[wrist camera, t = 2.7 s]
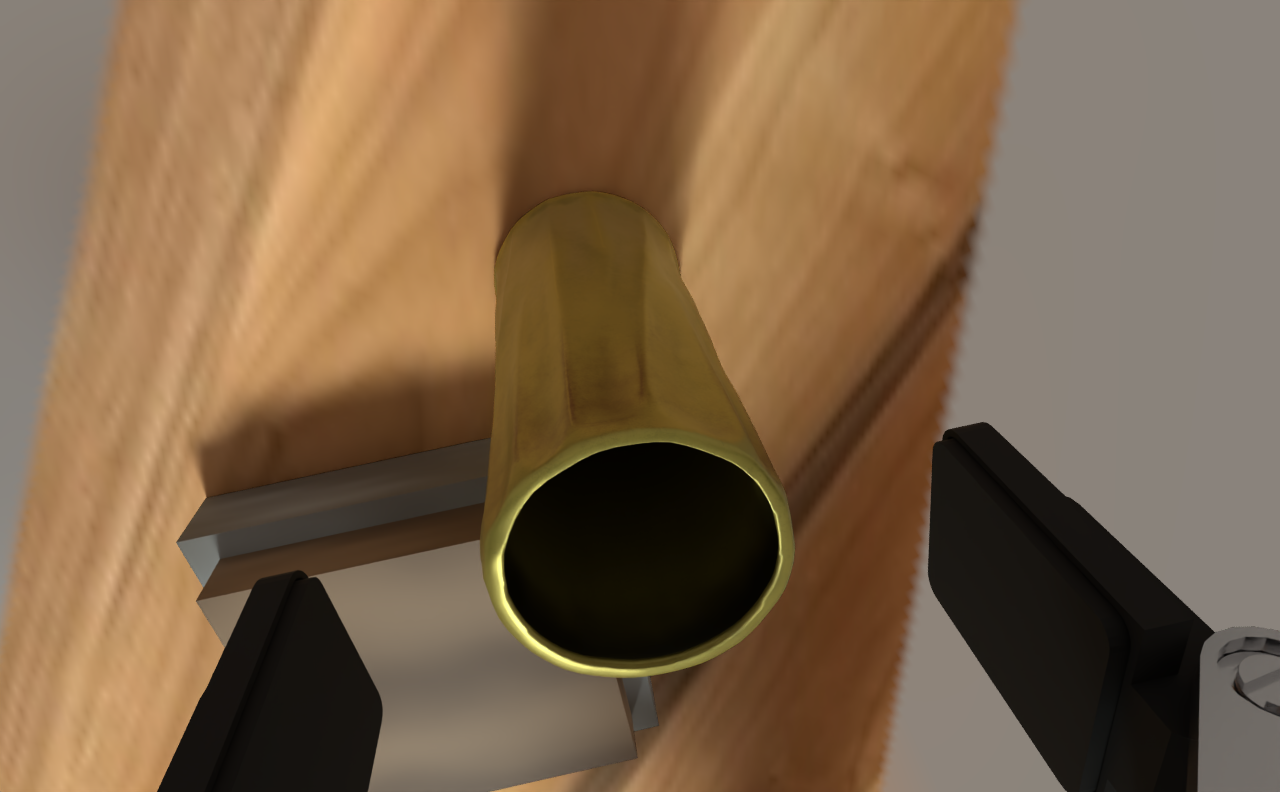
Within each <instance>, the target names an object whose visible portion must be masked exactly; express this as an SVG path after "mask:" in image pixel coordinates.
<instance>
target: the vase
mask: <svg viewBox="0 0 1280 792" xmlns="http://www.w3.org/2000/svg"><path fill="white" fill-rule="evenodd" d="M494 287H495V295H496V310H495V341H496V361H495V393H494V416H493V426H492V433H491V442H490V452H489V465H488V478H487V488H486V497H485V506H484V514H483V519H482V525H481V534H480V559H481V563H482V572H483V579H484V582H485V585H486V588H487V591H488V593H489V596H490V599H491V602H492V605H493V607H494V609H495V611H496V613H497V616H498V618H499V619H500V621H501V622H502V623H503V625H504V626H505V627H506V629H507V630H508V631H509V632H510V633H511V634H512V635H513V636H514V637H515V638H516V639H517V640H518V641H519V642H520V643H521V644H522V645H524V646H525V647H526V648H527V649H528V650H530V651H531V652H532V653H534V654H535V655H537V656H539V657H541V658H542V659H544V660H546V661H548V662H550V663H551V664H553V665H555V666H558V667H560V668H562V669H565V670H568V671H572V672H576V673H580V674H586V675H592V676H601V677H615V678H636V677H647V676H653V675H659V674H665V673H669V672H673V671H678V670H681V669H685V668H689V667H692V666H695V665H698V664H701V663H703V662H706V661H708V660H710V659H712V658H714V657H716V656H718V655H720V654H722V653H723V652H725V651H727V650H729V649H730V648H732V647H733V646H735V645H736V644H738V643H739V642H741V641H742V640H743V639H744V638H745V637H747V636H748V635H749V634H750V633H751V632H752V631H753V630H754V629H755V628H756V627H757V626H758V625H759V624H760V623H761V621H762V620H763V619H764V618H765V616H766V615H767V614H768V613H769V611H770V610H771V609H772V608H773V606H774V605H775V604H776V602H777V601H778V600H779V598H780V596H781V595H782V593H783V592H784V590H785V588H786V585H787V583H788V580H789V577H790V574H791V570H792V566H793V563H794V554H795V542H794V535H793V528H792V521H791V515H790V510H789V505H788V499H787V495H786V492H785V490H784V487H783V485H782V483H781V481H780V479H779V477H778V475H777V474H776V472H775V470H774V468H773V466H772V464H771V462H770V459H769V457H768V455H767V453H766V451H765V449H764V447H763V445H762V442H761V440H760V438H759V436H758V434H757V432H756V430H755V428H754V426H753V424H752V422H751V420H750V418H749V416H748V414H747V412H746V410H745V408H744V406H743V404H742V402H741V400H740V398H739V396H738V394H737V392H736V390H735V389H734V387H733V385H732V384H731V382H730V380H729V379H728V377H727V375H726V374H725V372H724V370H723V368H722V366H721V363H720V361H719V359H718V356H717V353H716V351H715V348H714V346H713V343H712V341H711V339H710V336H709V334H708V332H707V329H706V327H705V325H704V323H703V321H702V318H701V316H700V314H699V312H698V309H697V307H696V305H695V303H694V300H693V298H692V297H691V295H690V293H689V291H688V290H687V288H686V286H685V284H684V283H683V281H682V279H681V274H680V270H679V265H678V261H677V258H676V254H675V251H674V248H673V245H672V242H671V240H670V238H669V236H668V235H667V233H666V231H665V230H664V229H663V227H662V226H661V225H660V223H659V222H658V221H657V220H656V219H655V218H654V217H653V216H652V215H651V214H650V213H649V212H647V211H646V210H645V209H644V208H642V207H641V206H639V205H637V204H635V203H634V202H632V201H630V200H627V199H624V198H622V197H619V196H616V195H612V194H609V193H605V192H596V191H587V192H578V193H571V194H566V195H561V196H557V197H554V198H550V199H547V200H546V201H544V202H542V203H541V204H539V205H538V206H536V207H535V208H533V209H532V210H530V211H529V212H528V213H526V214H525V215H524V216H523V217H522V218H521V219H520V220H518V221H517V222H516V224H515V225H514V226H513V227H512V229H511V230H510V232H509V233H508V235H507V237H506V239H505V240H504V242H503V244H502V247H501V249H500V251H499V254H498V256H497V259H496V264H495V267H494Z"/></svg>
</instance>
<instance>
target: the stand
mask: <svg viewBox="0 0 1280 792" xmlns="http://www.w3.org/2000/svg"><path fill="white" fill-rule="evenodd" d="M490 442H491V438H487V439H483V440H478V441H473V442H469V443H464V444H459V445H454V446H450V447H445V448H440V449H436V450H431V451H426V452H421V453H417V454H412V455H407V456H403V457H398V458H393V459H388V460H384V461H379V462H374V463H369V464H365V465H360V466H355V467H351V468H346V469H341V470H336V471H332V472H327V473H322V474H318V475H313V476H308V477H303V478H299V479H294V480H289V481H285V482H280V483H275V484H270V485H266V486H261V487H256V488H252V489H247V490H242V491H237V492H233V493H228V494H223V495H219V496H214V497H209V498H206V499H205V500H204V502H203V503H202V505H201V506H200V508H199V509H198V511H197V512H196V514H195V515H194V517H193V518H192V520H191V521H190V523H189V524H188V526H187V527H186V529H185V530H184V532H183V533H182V535H181V536H180V538H179V539H178V541H177V542H176V543H177V545H178V546H179V548H180V550H181V551H182V553H183V555H184V556H185V558H186V559H187V561H188V563H189V564H190V566H191V568H192V569H193V571H194V573H195V574H196V576H197V578H198V579H199V581H200V583H201V584H202V586H203V587H204V588H203V590H202V591H201V593H200V595H199V597H198V598H197V600H196V602H197V604H198V605H199V607H200V608H201V610H202V612H203V613H204V615H205V617H206V618H207V620H208V621H209V623H210V625H211V626H212V628H213V629H214V631H215V633H216V634H217V636H218V637H219V639H220V641H221V642H222V644H223V646H224V647H226V645H227V643H228V640H229V638H230V636H231V634H232V632H233V629H234V627H235V625H236V623H237V621H238V619H239V616H240V614H241V612H242V610H243V608H244V606H245V603H246V601H247V599H248V597H249V595H250V592H251V590H252V588H253V586H254V584H255V583H256V581H257V580H259V579H261V578H264V577H268V576H273V575H278V574H282V573H287V572H292V571H296V570H301V571H303V572H304V573H306V575H307V576H308V578H311V577H317V578H318V579H319V580H320V581H321V583H322V584H323V586H324V588H325V590H326V592H327V594H328V596H329V598H330V600H331V602H332V604H333V605H334V607H335V609H336V611H337V613H338V615H339V617H340V619H341V621H342V623H343V625H344V627H345V628H346V630H347V632H348V634H349V636H350V638H351V640H352V642H353V644H354V646H355V648H356V650H357V652H358V653H359V655H360V657H361V659H362V661H363V663H364V665H365V667H366V669H367V671H368V673H369V675H370V677H371V678H372V680H373V682H374V684H375V686H376V688H377V690H378V692H379V694H380V697H381V701H382V707H383V718H382V724H381V729H380V734H379V739H378V744H377V749H376V754H375V759H374V764H373V769H372V774H371V779H370V784H369V789H368V792H490V791H495V790H499V789H504V788H508V787H513V786H517V785H521V784H526V783H530V782H535V781H539V780H543V779H548V778H552V777H557V776H561V775H565V774H570V773H574V772H579V771H583V770H587V769H592V768H596V767H601V766H605V765H609V764H614V763H618V762H623V761H627V760H631V759H636V758H638V757H637V750H636V742H635V735H634V731H638V730H642V729H647V728H651V727H655V726H659V723H658V718H657V712H656V706H655V700H654V695H653V689H652V683H651V678H650V676H647V677H636V678H615V677H601V676H592V675H586V674H580V673H576V672H572V671H568V670H565V669H562V668H560V667H558V666H555V665H553V664H551V663H550V662H548V661H546V660H544V659H542V658H541V657H539V656H537V655H535V654H534V653H532V652H531V651H530V650H528V649H527V648H526V647H525V646H524V645H522V644H521V643H520V642H519V641H518V640H517V639H516V638H515V637H514V636H513V635H512V634H511V633H510V632H509V631H508V630H507V629H506V627H505V626H504V625H503V623H502V622H501V621H500V619H499V618H498V616H497V613H496V611H495V609H494V607H493V605H492V602H491V599H490V596H489V593H488V591H487V588H486V585H485V582H484V579H483V572H482V563H481V559H480V534H481V525H482V519H483V514H484V506H485V497H486V488H487V478H488V465H489V452H490Z"/></svg>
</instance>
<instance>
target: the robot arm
mask: <svg viewBox="0 0 1280 792" xmlns="http://www.w3.org/2000/svg"><path fill="white" fill-rule="evenodd" d="M928 576H929V581H930V585H931V588H932V590H933V592H934V594H935V596H936V598H937V599H938V601H939V602H940V604H941V605H942V607H943V608H944V610H945V611H946V613H947V614H948V616H949V617H950V619H951V620H952V622H953V623H954V625H955V626H956V628H957V629H958V631H959V632H960V634H961V635H962V637H963V638H964V640H965V641H966V643H967V644H968V646H969V647H970V649H971V650H972V652H973V653H974V655H975V656H976V658H977V659H978V661H979V662H980V664H981V665H982V667H983V668H984V670H985V671H986V673H987V674H988V676H989V677H990V679H991V680H992V682H993V683H994V685H995V686H996V688H997V689H998V691H999V692H1000V694H1001V695H1002V697H1003V698H1004V700H1005V701H1006V703H1007V704H1008V706H1009V707H1010V709H1011V710H1012V712H1013V713H1014V715H1015V716H1016V718H1017V719H1018V721H1019V722H1020V724H1021V725H1022V727H1023V728H1024V730H1025V731H1026V733H1027V734H1028V736H1029V737H1030V739H1031V740H1032V742H1033V743H1034V745H1035V746H1036V748H1037V750H1038V751H1039V752H1040V754H1041V756H1042V757H1043V759H1044V760H1045V761H1046V763H1047V765H1048V766H1049V768H1050V769H1051V771H1052V772H1053V773H1054V775H1055V777H1056V778H1057V780H1058V781H1059V782H1060V784H1061V785H1062V786H1063V788H1064V789H1065V790H1066V791H1067V792H1280V631H1278V630H1273V629H1266V628H1260V627H1254V626H1251V627H1231V628H1228V629H1225V630H1222V631H1219V632H1214V631H1213V630H1212V629H1211V628H1210V627H1209V626H1208V625H1207V624H1205V623H1204V622H1203V621H1202V620H1201V619H1200V618H1199V617H1198V616H1197V615H1196V614H1195V613H1194V612H1193V611H1191V609H1190V608H1188V606H1186V605H1185V604H1184V603H1183V602H1182V601H1181V600H1180V599H1179V598H1178V597H1177V596H1176V595H1175V594H1174V593H1173V592H1172V591H1171V590H1170V589H1168V588H1167V587H1166V586H1165V585H1164V584H1163V583H1162V582H1161V581H1160V580H1159V579H1158V578H1157V577H1156V576H1155V575H1153V574H1152V573H1151V572H1150V571H1149V570H1148V569H1147V568H1146V567H1145V566H1144V565H1143V564H1142V563H1141V562H1140V561H1139V560H1138V559H1137V558H1136V557H1135V556H1133V555H1132V554H1131V553H1130V552H1129V551H1128V550H1127V549H1126V548H1125V547H1124V546H1123V545H1122V544H1121V543H1120V542H1119V541H1118V540H1117V539H1115V538H1114V537H1113V536H1112V535H1111V534H1110V533H1109V532H1108V531H1107V530H1106V529H1105V528H1104V527H1103V526H1102V525H1101V524H1100V523H1098V522H1097V521H1096V520H1095V519H1094V518H1093V517H1092V516H1091V515H1090V514H1089V513H1088V512H1087V511H1086V510H1085V509H1084V508H1083V507H1081V506H1080V505H1079V504H1078V503H1077V502H1075V501H1074V500H1073V499H1071V498H1069V497H1066V496H1065V495H1064V494H1063V493H1061V492H1060V491H1059V490H1058V489H1057V488H1056V487H1055V486H1054V485H1053V484H1052V483H1051V482H1050V481H1049V480H1048V479H1047V478H1046V477H1045V476H1044V475H1042V473H1040V472H1039V471H1038V470H1037V469H1036V468H1035V467H1034V466H1033V465H1032V464H1031V463H1030V462H1029V461H1028V460H1027V459H1026V458H1025V457H1024V456H1023V455H1021V454H1020V453H1019V452H1018V451H1017V450H1016V449H1015V448H1014V447H1013V446H1012V445H1011V444H1010V443H1009V442H1008V441H1007V440H1006V439H1005V438H1004V437H1003V436H1002V435H1001V434H1000V433H998V432H997V431H996V430H995V429H994V428H993V427H992V426H991V425H989V424H988V423H984V422H981V423H976V424H972V425H967V426H962V427H958V428H953V429H948V430H947V431H945V433H944V435H943V439H942V441H939V442H936V443H935V444H934V446H933V458H932V483H931V508H930V534H929V559H928ZM382 718H383V707H382V701H381V697H380V694H379V692H378V690H377V688H376V686H375V684H374V682H373V680H372V678H371V677H370V675H369V673H368V671H367V669H366V667H365V665H364V663H363V661H362V659H361V657H360V655H359V653H358V652H357V650H356V648H355V646H354V644H353V642H352V640H351V638H350V636H349V634H348V632H347V630H346V628H345V627H344V625H343V623H342V621H341V619H340V617H339V615H338V613H337V611H336V609H335V607H334V605H333V604H332V602H331V600H330V598H329V596H328V594H327V592H326V590H325V588H324V586H323V584H322V583H321V581H320V580H319V579H318V578H317V577H311V578H308V576H307V575H306V573H304V572H303V571H301V570H296V571H292V572H287V573H282V574H278V575H273V576H268V577H264V578H261V579H259V580H257V581H256V583H255V584H254V586H253V588H252V590H251V592H250V595H249V597H248V599H247V601H246V603H245V606H244V608H243V610H242V612H241V614H240V616H239V619H238V621H237V623H236V625H235V627H234V629H233V632H232V634H231V636H230V638H229V640H228V643H227V645H226V647H225V649H224V651H223V653H222V656H221V658H220V660H219V662H218V664H217V667H216V669H215V671H214V673H213V675H212V677H211V680H210V682H209V684H208V686H207V688H206V690H205V691H204V693H203V695H202V696H201V698H200V700H199V702H198V704H197V706H196V709H195V711H194V713H193V715H192V717H191V719H190V722H189V724H188V726H187V728H186V730H185V732H184V735H183V737H182V739H181V741H180V743H179V745H178V748H177V750H176V752H175V754H174V756H173V758H172V761H171V763H170V765H169V767H168V769H167V771H166V774H165V776H164V778H163V780H162V782H161V784H160V787H159V789H158V791H157V792H368V789H369V784H370V779H371V774H372V769H373V764H374V759H375V754H376V749H377V744H378V739H379V734H380V729H381V724H382Z"/></svg>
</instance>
